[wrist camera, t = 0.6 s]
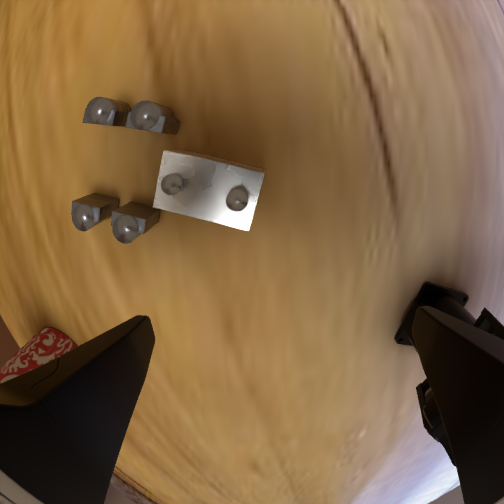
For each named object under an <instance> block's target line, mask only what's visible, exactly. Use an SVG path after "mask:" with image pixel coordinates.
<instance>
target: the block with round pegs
mask: <svg viewBox="0 0 504 504" xmlns="http://www.w3.org/2000/svg"><path fill="white" fill-rule="evenodd" d="M264 175H265V172H264V169H262V168H258V167H254V166H250V165H247V164H243V163H239V162H235V161H231V160H226V159H222V158H218V157H214V156H209V155H205V154H200V153H195V152H191V151H186V150H181V149H176V150H164V151H163V156H162V161H161V166H160V171H159V176H158V181H157V186H156V192H155V198H154V204H153V207H154V208H158V209H162V210H166V211H171V212H175V213H179V214H183V215H187V216H191V217H195V218H199V219H203V220H207V221H211V222H215V223H218V224H222V225H226V226H230V227H234V228H238V229H242V230H246V231H249V229H250V225H251V222H252V218H253V214H254V211H255V207H256V204H257V200H258V196H259V193H260V189H261V186H262V182H263V178H264Z"/></svg>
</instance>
